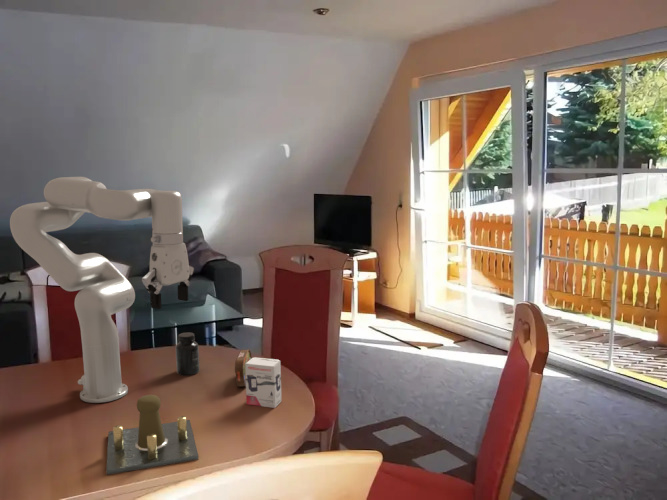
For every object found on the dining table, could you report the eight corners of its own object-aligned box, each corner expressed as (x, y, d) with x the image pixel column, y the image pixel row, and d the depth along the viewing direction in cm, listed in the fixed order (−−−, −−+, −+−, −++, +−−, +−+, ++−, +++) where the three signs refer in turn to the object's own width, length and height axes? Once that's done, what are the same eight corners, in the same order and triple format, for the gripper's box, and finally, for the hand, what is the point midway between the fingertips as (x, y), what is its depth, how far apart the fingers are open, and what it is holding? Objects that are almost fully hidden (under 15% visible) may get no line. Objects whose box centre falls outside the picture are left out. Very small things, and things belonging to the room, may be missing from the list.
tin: (245, 391, 172) (244, 362, 170) (234, 391, 172) (233, 362, 170) (253, 372, 186) (252, 345, 185) (243, 372, 187) (242, 345, 185)
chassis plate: (106, 474, 127) (104, 448, 126) (108, 435, 145) (107, 412, 144) (198, 459, 133) (197, 433, 132) (189, 423, 151) (188, 400, 150)
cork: (150, 450, 135) (147, 404, 133) (131, 444, 138) (128, 399, 136) (170, 439, 140) (167, 394, 138) (152, 434, 143) (149, 389, 141)
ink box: (245, 404, 162) (244, 362, 160) (253, 397, 167) (252, 356, 165) (275, 408, 160) (274, 365, 158) (282, 401, 164) (281, 359, 162)
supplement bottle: (196, 366, 191) (195, 330, 189) (201, 373, 185) (200, 336, 183) (174, 370, 188) (172, 333, 187) (179, 377, 182) (177, 339, 180)
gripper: (153, 245, 146) (155, 313, 148) (202, 236, 160) (203, 299, 163) (131, 242, 149) (134, 309, 152) (180, 234, 164) (182, 295, 167)
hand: (169, 304), depth 158 cm, fingers open, 9 cm apart
